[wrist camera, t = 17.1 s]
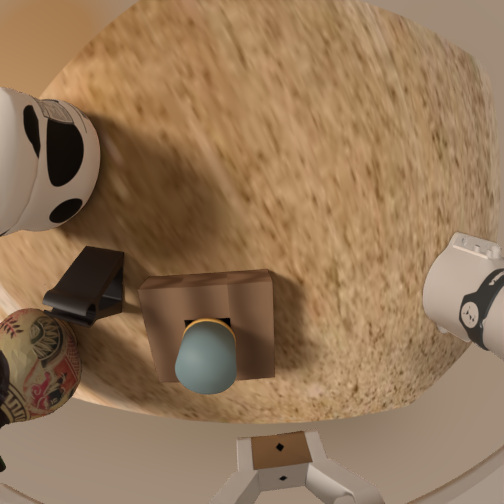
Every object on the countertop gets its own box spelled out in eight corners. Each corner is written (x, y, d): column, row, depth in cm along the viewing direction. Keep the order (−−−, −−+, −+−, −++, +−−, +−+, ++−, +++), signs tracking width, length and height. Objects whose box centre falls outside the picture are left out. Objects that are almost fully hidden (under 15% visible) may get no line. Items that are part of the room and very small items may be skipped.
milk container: (19, 224, 33) (-61, 249, 16) (26, 116, 30) (-53, 99, 12) (106, 226, 35) (25, 261, 17) (116, 101, 31) (44, 54, 14)
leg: (232, 298, 38) (234, 344, 27) (236, 339, 40) (239, 393, 28) (185, 301, 38) (169, 347, 26) (192, 341, 39) (180, 395, 28)
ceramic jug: (100, 383, 41) (34, 518, 11) (33, 359, 39) (-48, 458, 10) (93, 296, 37) (-37, 433, 8) (20, 276, 35) (-106, 358, 6)
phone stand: (122, 311, 38) (89, 355, 26) (87, 303, 37) (47, 341, 25) (124, 252, 36) (84, 280, 24) (87, 245, 35) (39, 268, 24)
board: (266, 269, 38) (272, 281, 33) (270, 357, 41) (274, 377, 36) (148, 276, 37) (137, 289, 32) (165, 362, 40) (159, 382, 35)
